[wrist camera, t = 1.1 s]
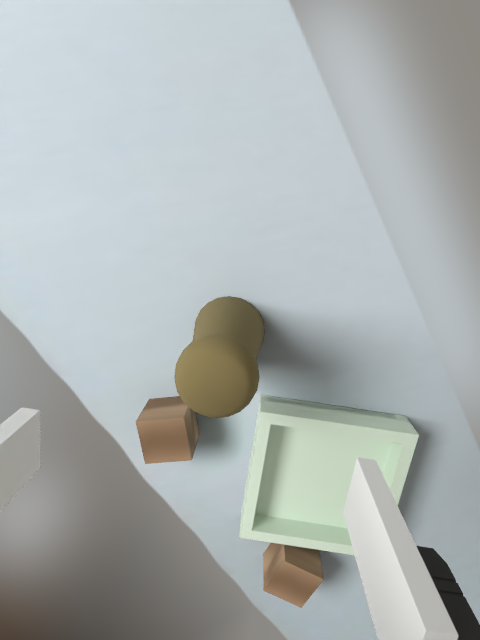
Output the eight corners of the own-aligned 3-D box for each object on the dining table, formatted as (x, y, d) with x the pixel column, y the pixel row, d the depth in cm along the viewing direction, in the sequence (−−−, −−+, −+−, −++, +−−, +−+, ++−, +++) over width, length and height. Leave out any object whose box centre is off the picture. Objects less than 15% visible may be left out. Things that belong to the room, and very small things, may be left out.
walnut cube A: (149, 398, 34) (135, 421, 31) (192, 394, 34) (183, 417, 30) (157, 436, 35) (145, 463, 32) (199, 433, 35) (191, 460, 31)
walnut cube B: (282, 525, 37) (285, 561, 34) (317, 542, 38) (323, 579, 34) (263, 552, 39) (263, 590, 35) (297, 568, 39) (301, 607, 35)
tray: (260, 394, 34) (260, 411, 31) (405, 416, 33) (419, 435, 30) (241, 512, 37) (239, 537, 34) (371, 532, 37) (381, 559, 34)
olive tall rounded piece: (252, 287, 31) (248, 325, 20) (273, 353, 32) (279, 420, 22) (184, 308, 32) (146, 354, 21) (207, 371, 33) (182, 444, 23)
